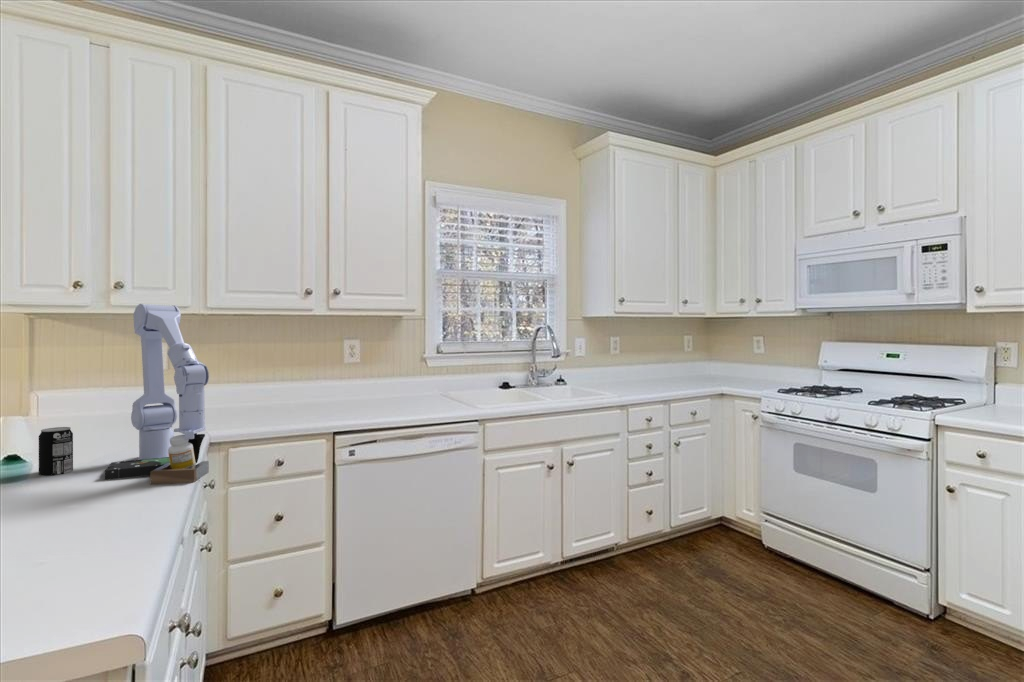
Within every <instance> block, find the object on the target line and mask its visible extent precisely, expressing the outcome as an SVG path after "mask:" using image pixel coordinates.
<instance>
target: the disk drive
mask: <svg viewBox="0 0 1024 682" xmlns="http://www.w3.org/2000/svg"><path fill="white" fill-rule="evenodd" d="M167 463H170V459H169V457H163V458H153V459H142V460H137V459H135V460H134V459H133V460H132V459H131V460H123V461H114V462H113V461H111V462H110V464H108V466H107V468H104V469H105V470H104V480H105V481H106V480H107V479H110V480H120V479H119V478H121V479H128V478H129V479H130V478H138V477H145V476H146V477H150V472H151V471H153V470H155V469H157V468H159V467H161V466H163V465H165V464H167Z"/></svg>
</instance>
